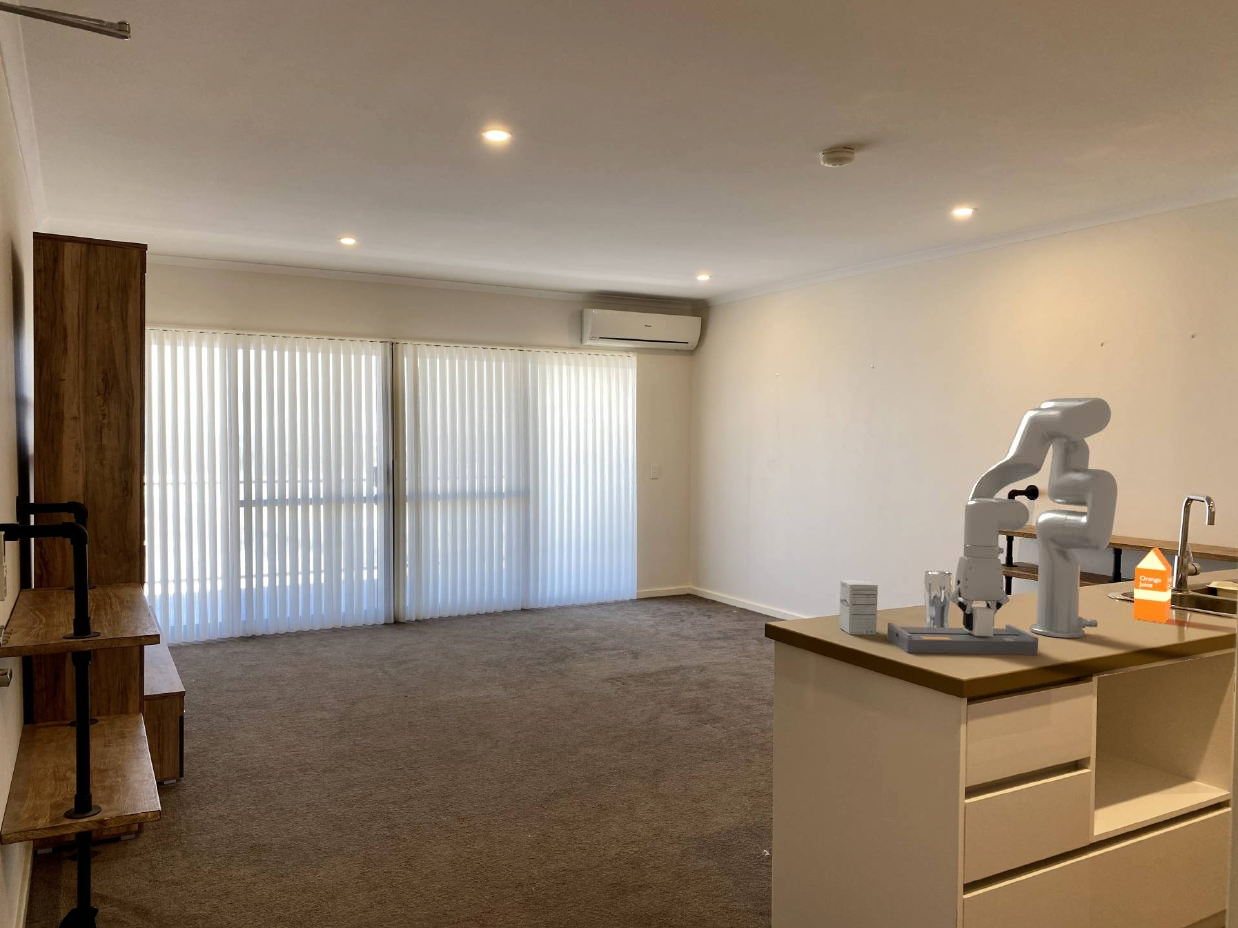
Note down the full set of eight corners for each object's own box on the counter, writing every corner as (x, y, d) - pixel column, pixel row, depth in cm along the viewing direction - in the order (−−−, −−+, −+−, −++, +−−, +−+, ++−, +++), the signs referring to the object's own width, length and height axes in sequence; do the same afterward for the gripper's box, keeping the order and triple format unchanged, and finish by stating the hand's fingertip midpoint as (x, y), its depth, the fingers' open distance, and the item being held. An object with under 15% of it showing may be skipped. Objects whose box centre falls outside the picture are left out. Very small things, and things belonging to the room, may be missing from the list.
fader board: (1009, 640, 214) (1009, 624, 214) (1037, 654, 200) (1038, 637, 200) (887, 638, 214) (887, 622, 213) (907, 652, 200) (907, 635, 200)
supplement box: (838, 628, 225) (839, 579, 225) (866, 628, 225) (867, 579, 225) (848, 634, 217) (849, 584, 217) (877, 634, 218) (878, 584, 218)
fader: (980, 634, 210) (980, 604, 210) (993, 641, 203) (994, 610, 203) (963, 634, 210) (964, 604, 210) (975, 640, 203) (976, 610, 203)
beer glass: (953, 634, 220) (955, 575, 219) (924, 633, 221) (926, 573, 221) (948, 629, 227) (950, 571, 226) (920, 627, 228) (922, 570, 228)
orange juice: (1132, 619, 245) (1135, 547, 245) (1139, 614, 252) (1141, 545, 252) (1165, 623, 240) (1168, 550, 240) (1170, 618, 247) (1173, 548, 246)
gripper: (1008, 551, 210) (1005, 626, 211) (939, 549, 210) (936, 625, 210) (1023, 555, 203) (1020, 633, 203) (951, 553, 202) (949, 632, 203)
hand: (978, 628), depth 207 cm, fingers closed on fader, 4 cm apart
